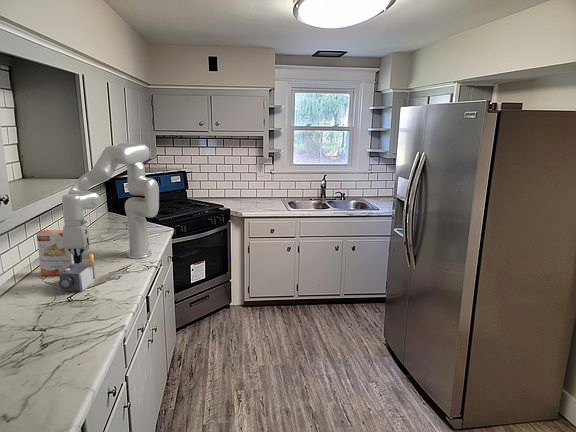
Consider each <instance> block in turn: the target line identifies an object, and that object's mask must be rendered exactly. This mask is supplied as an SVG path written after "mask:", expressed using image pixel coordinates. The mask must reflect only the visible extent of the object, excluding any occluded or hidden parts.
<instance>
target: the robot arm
mask: <svg viewBox="0 0 576 432" xmlns="http://www.w3.org/2000/svg"><path fill="white" fill-rule="evenodd" d="M150 153H151V151H150V148H149V147H148V146H147V145H146V144H143V143H130V142H122V143H118V144H117V145H108V146H106V147H104V149H103V150H102V152H101V154H100V156H99V158H98V159H97V161H96V163H95V164H94V166H93V167H92V169H90V170H88V172H86V173H84V174H82V175H81V176H80V177H79V178H78V179H76V180H75V181H74V183H73V184H72V186H71V188H70V190H69V191H68V192H67V193H68V194H64V195H63V196H62V197H61V204H62V214H63V223H64V224H63V228H62V230H63V246H64V250H67V251H70V252H71V254H72V255H73V259H74V263H75V264H76V263H77V264H79V263H80V262H83V253H84V252H88V251H89V250H90V245H91V239H90V232H89V230H88V226H87V223H88V221H87V220H85V218H84V211H85V210H90V209H91V210H93V209H96V208H97V207H99V206H100V204H101V200H102V199H101V196H100V195H99V194H98V193H97V192H95V191H88V190H89V189H91V187H94V186H95V185H99V184H103V183H104V182H106V181H109V180H110V179H111V178H112V176H113V175H114V173H115V171H116V169H117V168H118V166H119V165H125V166H126V171H127V172H126V173H127V174H126V175H127V191H128V193H129V194H131V195H134V196H135V197H129V198H128V199H126V201H125V203H124V210H125V214H126V218H127V226H128V227H127V229H128V243H129V244H128V245H129V251H128V252H127V253H126V257H127V258H129V259H134V260H135V259H139V260H140V259H145V258H148V257H151V256H152V254H153V252H152V251H151V249H149V245H150V244H149V236H148V232H149V231H148V222H147V219H146V218H154V217H156V216H157V215H158V214H159V213H158V212H159V208H160V189H159V188H160V187H159V183H158V181H156V179H155V178H150V177H146V170H145V164H144V162H145V161H147V160H148V159H149V158H150ZM137 196H142V197H137ZM143 197H144V198H143Z"/></svg>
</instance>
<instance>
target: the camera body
mask: <svg viewBox="0 0 576 432" xmlns="http://www.w3.org/2000/svg"><path fill="white" fill-rule="evenodd" d="M87 267H89V261H82V262H80V263H79V264H77V263H76V264H75V263H73V264H72V265H70V266H69V267H68V268H66V269H65V270H63V271H62V272H60V273H59V275H58V277H59V286H60V291H61V292H80V288H79V278H78V274H79V273H81V272H82V271H84V270H85V269H86V268H87ZM92 271H93V281H94V280H96V278H95V277H96V276H95V275H96V274H95V266H94V267H92Z"/></svg>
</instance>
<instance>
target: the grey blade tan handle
mask: <svg viewBox="0 0 576 432" xmlns="http://www.w3.org/2000/svg"><path fill="white" fill-rule="evenodd" d="M87 257H88V262H89V267H87V268H86V269H85V270H84V271H82V272H81V273H79V274H78V278H79V288H80V291H79V292H80V293H81V292H83V291H84V290H85V289H87V288H88V287H89V286H90V285H91V284H92V283H93V282H94V280H93V271H92V267H94V268H95V260H94V259H95V258H94V253H89V254H88V256H87Z"/></svg>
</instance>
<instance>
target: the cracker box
mask: <svg viewBox="0 0 576 432" xmlns="http://www.w3.org/2000/svg"><path fill="white" fill-rule="evenodd" d="M36 240H37V249H38V251H37V252H38V259H39V265H40V266H39V267H40V274H41V276H42V277H43V276H44V277H47V276H48V277H49V276H53V277H54V276H55V277H56V276H59V273H60V272H62V271H63V270H65V269H66V268H68V267H69V266H70V265H72V264H73V263H74V259H73V255H72V254H71V252H70V251H67V250H64V246H63V229H41V230H40V231H38V232H37V233H36Z"/></svg>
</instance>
